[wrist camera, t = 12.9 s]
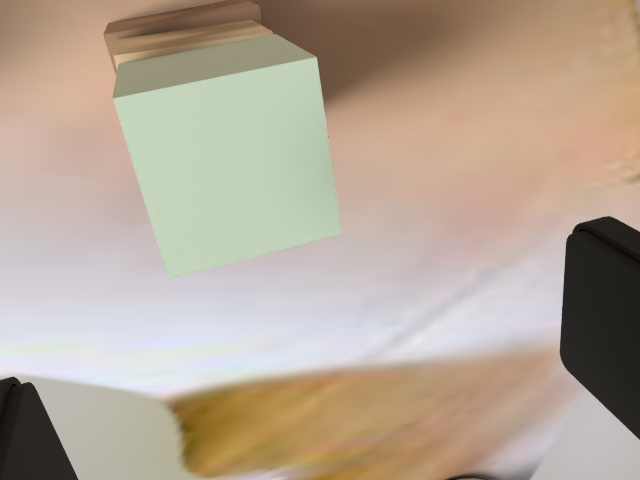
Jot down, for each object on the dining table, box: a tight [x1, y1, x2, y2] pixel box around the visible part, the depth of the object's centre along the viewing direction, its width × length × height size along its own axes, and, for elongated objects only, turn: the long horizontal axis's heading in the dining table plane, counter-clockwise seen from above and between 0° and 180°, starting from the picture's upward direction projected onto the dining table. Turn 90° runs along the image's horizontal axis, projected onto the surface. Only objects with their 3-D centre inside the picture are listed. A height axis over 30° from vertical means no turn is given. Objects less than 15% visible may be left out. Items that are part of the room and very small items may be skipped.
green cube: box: [113, 34, 342, 279], centre depth 21 cm, size 6×6×6 cm
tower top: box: [114, 20, 273, 70], centre depth 26 cm, size 6×6×5 cm
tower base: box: [104, 0, 263, 76], centre depth 30 cm, size 7×7×5 cm
